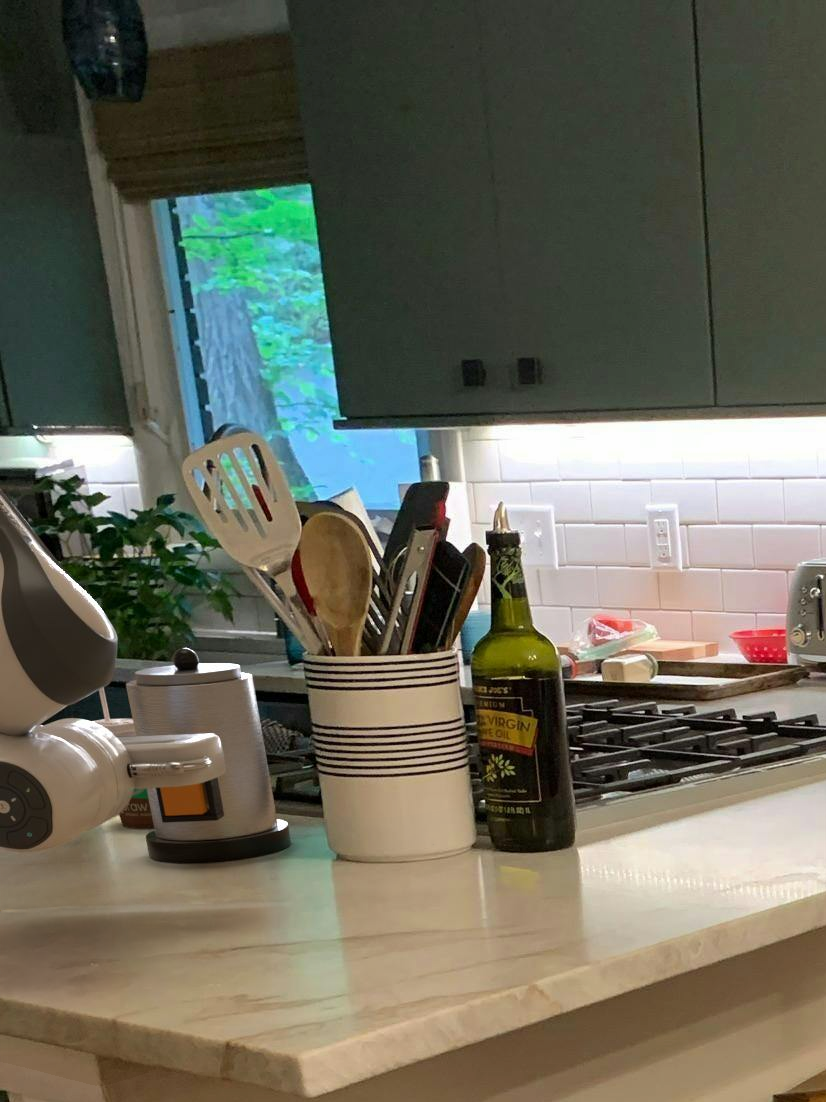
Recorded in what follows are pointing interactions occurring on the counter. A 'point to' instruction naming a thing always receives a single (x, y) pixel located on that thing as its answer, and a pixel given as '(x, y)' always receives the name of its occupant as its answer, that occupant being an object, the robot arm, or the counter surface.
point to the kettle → (244, 789)
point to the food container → (137, 810)
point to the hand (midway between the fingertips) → (129, 750)
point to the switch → (184, 800)
